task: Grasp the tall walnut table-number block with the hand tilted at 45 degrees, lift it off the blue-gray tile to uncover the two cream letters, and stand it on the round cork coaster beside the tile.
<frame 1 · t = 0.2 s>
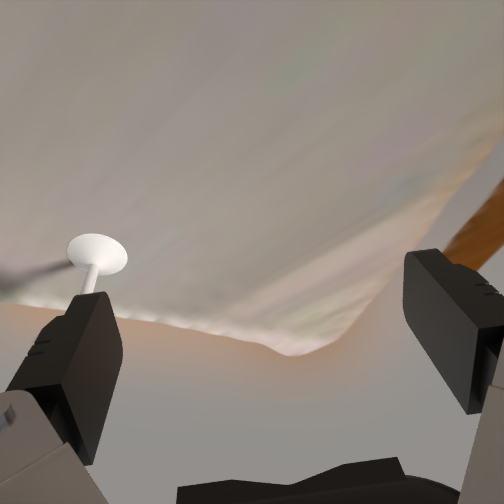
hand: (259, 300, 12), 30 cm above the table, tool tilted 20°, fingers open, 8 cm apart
champagne flute: (97, 254, 52), on the table
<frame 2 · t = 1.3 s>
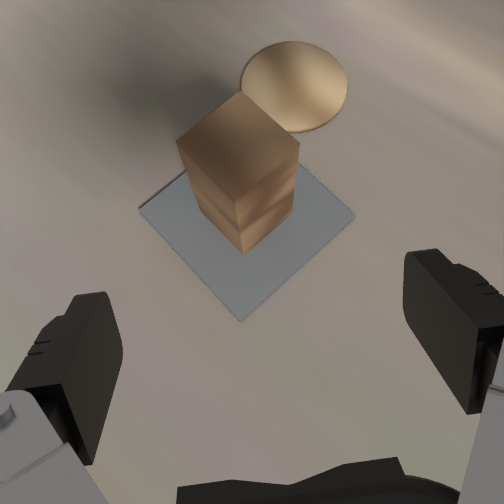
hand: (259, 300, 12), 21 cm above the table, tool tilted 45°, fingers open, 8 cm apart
walnut block: (242, 182, 31), on the blue-gray tile
blue-gray tile: (246, 214, 36), on the table
coaster: (293, 87, 39), on the table
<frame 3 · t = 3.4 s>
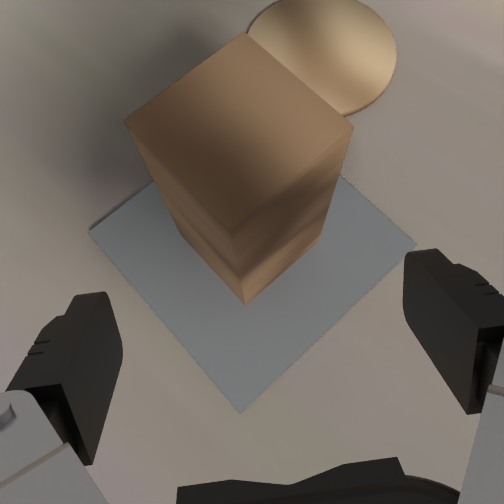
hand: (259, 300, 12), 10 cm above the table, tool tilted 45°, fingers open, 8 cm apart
walnut block: (244, 194, 19), on the blue-gray tile
blue-gray tile: (249, 241, 24), on the table
coaster: (318, 56, 27), on the table
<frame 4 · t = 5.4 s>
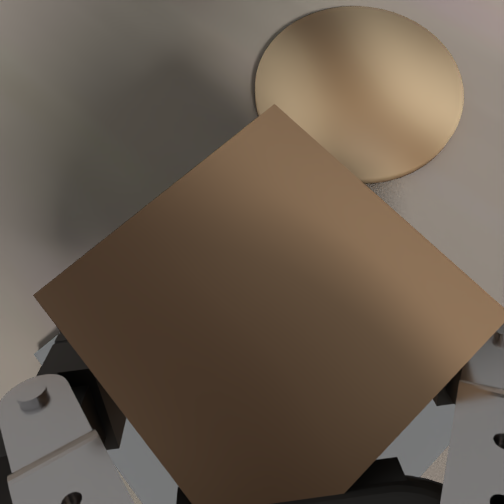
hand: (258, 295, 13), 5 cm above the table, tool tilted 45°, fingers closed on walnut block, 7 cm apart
walnut block: (265, 346, 11), on the blue-gray tile, touching gripper
blue-gray tile: (266, 366, 17), on the table
coaster: (355, 93, 20), on the table
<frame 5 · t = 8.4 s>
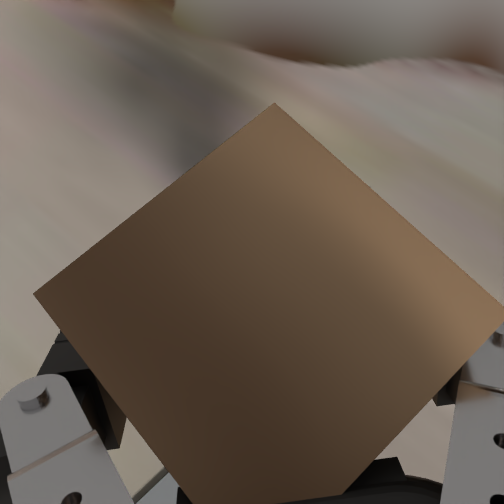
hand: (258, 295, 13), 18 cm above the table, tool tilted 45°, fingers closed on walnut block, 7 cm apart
walnut block: (265, 345, 11), point 19 cm above the table, touching gripper
when the fingers open (6 cm above the table, at t = 11.2 s): walnut block drops 1 cm, resting on coaster.
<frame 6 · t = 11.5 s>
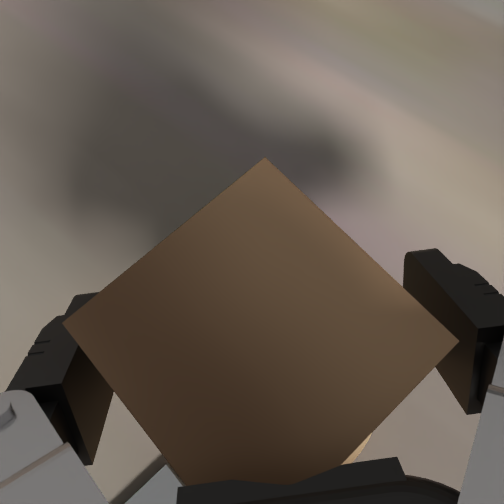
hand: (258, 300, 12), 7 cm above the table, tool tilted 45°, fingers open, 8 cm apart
walnut block: (259, 358, 13), on the coaster
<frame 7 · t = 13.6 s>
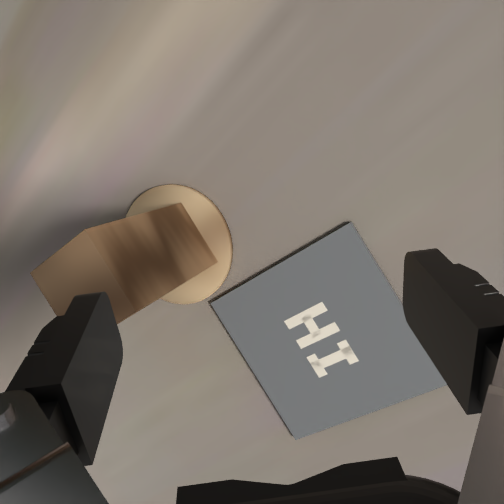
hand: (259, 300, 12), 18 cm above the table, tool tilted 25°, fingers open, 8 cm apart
walnut block: (135, 267, 29), on the coaster
blue-gray tile: (321, 338, 32), on the table
coaster: (177, 244, 34), on the table
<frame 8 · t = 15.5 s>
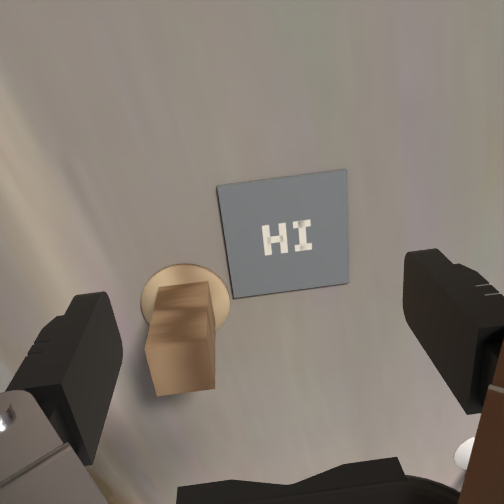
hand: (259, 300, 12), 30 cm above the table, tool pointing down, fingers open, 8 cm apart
walnut block: (184, 334, 42), on the coaster
blue-gray tile: (286, 236, 45), on the table
champagne flute: (478, 451, 61), on the table
coaster: (186, 302, 47), on the table
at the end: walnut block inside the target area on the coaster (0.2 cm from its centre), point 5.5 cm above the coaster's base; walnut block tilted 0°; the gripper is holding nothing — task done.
